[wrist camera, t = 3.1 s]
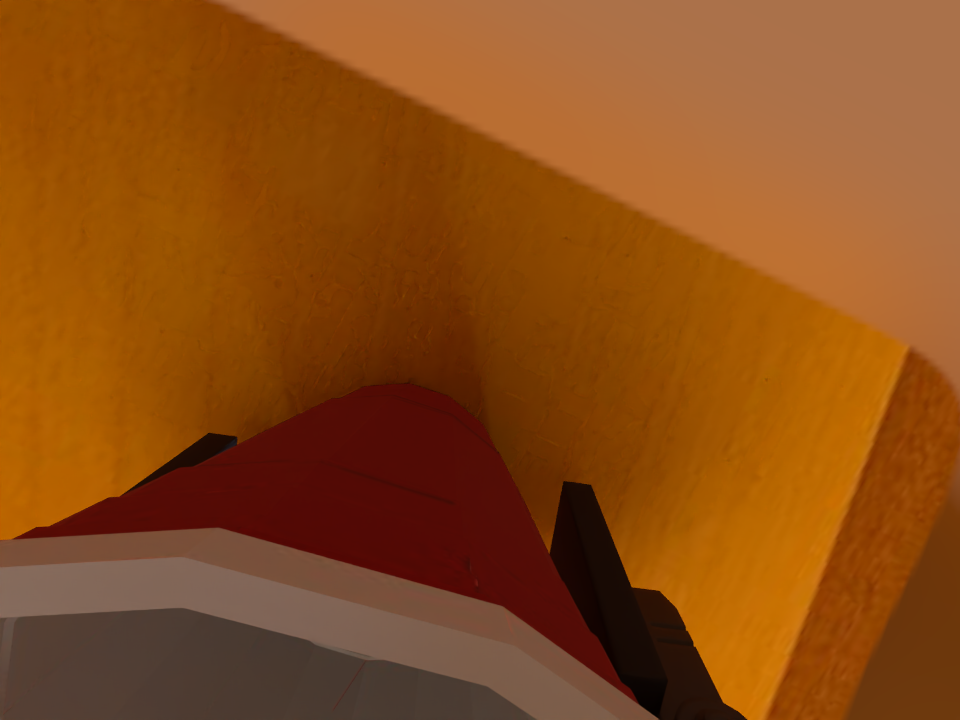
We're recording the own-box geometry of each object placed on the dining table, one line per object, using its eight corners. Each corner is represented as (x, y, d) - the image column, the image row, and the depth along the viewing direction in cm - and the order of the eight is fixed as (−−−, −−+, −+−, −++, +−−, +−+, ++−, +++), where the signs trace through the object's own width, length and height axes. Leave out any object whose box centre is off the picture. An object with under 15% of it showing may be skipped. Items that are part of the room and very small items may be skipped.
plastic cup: (294, 665, 18) (-81, 1499, 6) (167, 355, 15) (-850, 747, 4) (620, 595, 17) (909, 1409, 5) (539, 255, 15) (734, 354, 3)
